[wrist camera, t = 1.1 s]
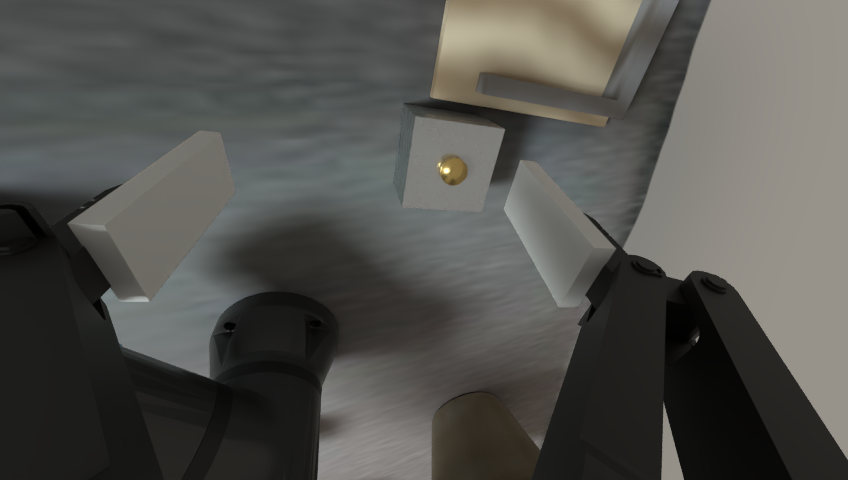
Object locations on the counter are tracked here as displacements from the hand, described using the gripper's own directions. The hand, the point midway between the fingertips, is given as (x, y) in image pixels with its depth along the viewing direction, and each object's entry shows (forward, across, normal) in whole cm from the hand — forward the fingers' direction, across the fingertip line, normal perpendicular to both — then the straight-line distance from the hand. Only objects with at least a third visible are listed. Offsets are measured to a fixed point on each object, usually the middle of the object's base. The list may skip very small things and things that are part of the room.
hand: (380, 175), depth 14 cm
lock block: (+18, -6, +6) cm, 20 cm away
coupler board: (+21, -15, -7) cm, 26 cm away
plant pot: (+14, -20, +58) cm, 63 cm away
